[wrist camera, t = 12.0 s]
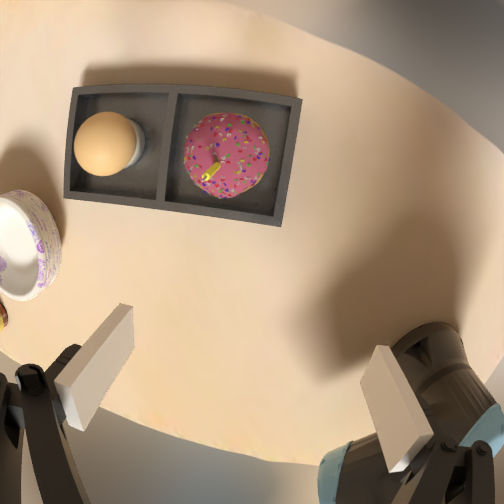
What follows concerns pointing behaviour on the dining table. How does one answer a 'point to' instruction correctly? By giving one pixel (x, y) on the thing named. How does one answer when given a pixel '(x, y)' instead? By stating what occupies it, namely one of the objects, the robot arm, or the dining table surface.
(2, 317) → the sauce bottle
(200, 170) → the cupcake
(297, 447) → the dining table surface
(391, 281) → the dining table surface
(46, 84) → the dining table surface
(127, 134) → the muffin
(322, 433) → the dining table surface
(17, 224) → the paper bowls
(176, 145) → the divided tray
